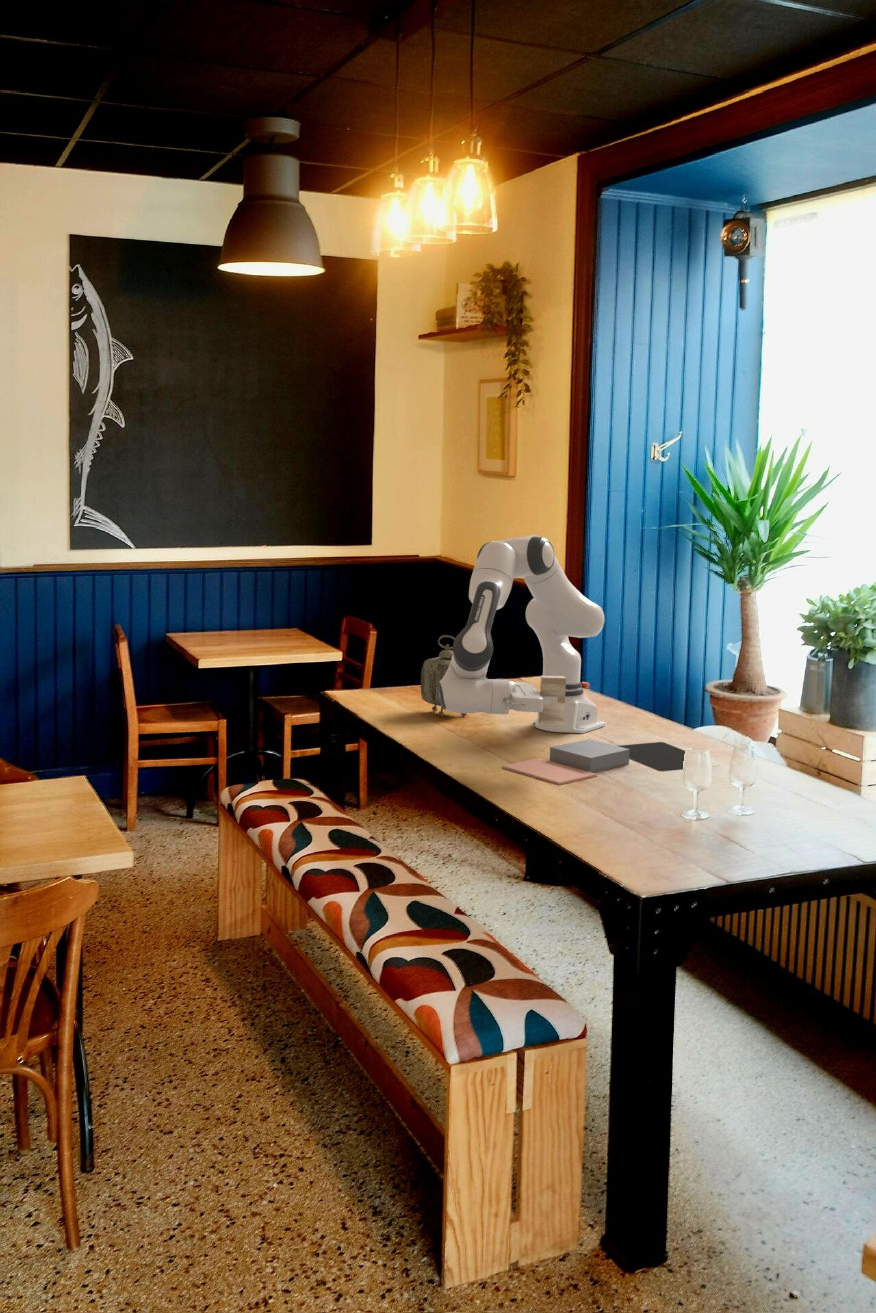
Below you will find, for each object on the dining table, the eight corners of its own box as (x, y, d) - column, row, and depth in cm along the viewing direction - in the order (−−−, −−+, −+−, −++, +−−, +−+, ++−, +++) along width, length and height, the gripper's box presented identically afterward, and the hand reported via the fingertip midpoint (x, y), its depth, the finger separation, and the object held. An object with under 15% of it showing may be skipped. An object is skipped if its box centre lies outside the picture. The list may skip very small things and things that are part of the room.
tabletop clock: (472, 716, 378) (475, 636, 374) (456, 721, 371) (459, 639, 367) (432, 709, 386) (435, 631, 382) (416, 714, 379) (419, 634, 374)
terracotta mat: (538, 760, 327) (538, 757, 327) (596, 776, 313) (596, 773, 313) (502, 767, 318) (502, 765, 318) (559, 784, 304) (560, 782, 304)
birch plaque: (538, 721, 315) (540, 675, 313) (561, 722, 315) (564, 676, 313) (540, 724, 312) (542, 677, 310) (563, 724, 312) (566, 678, 310)
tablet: (603, 746, 344) (661, 741, 352) (603, 749, 344) (661, 743, 352) (660, 771, 320) (721, 765, 328) (659, 773, 320) (721, 767, 329)
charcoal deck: (588, 753, 337) (589, 739, 336) (628, 763, 327) (629, 749, 326) (549, 761, 326) (550, 747, 325) (589, 773, 316) (590, 757, 315)
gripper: (507, 692, 301) (563, 693, 302) (497, 677, 321) (550, 678, 322) (506, 717, 302) (561, 718, 303) (496, 701, 322) (548, 702, 323)
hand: (555, 698), depth 312 cm, fingers closed on birch plaque, 3 cm apart
